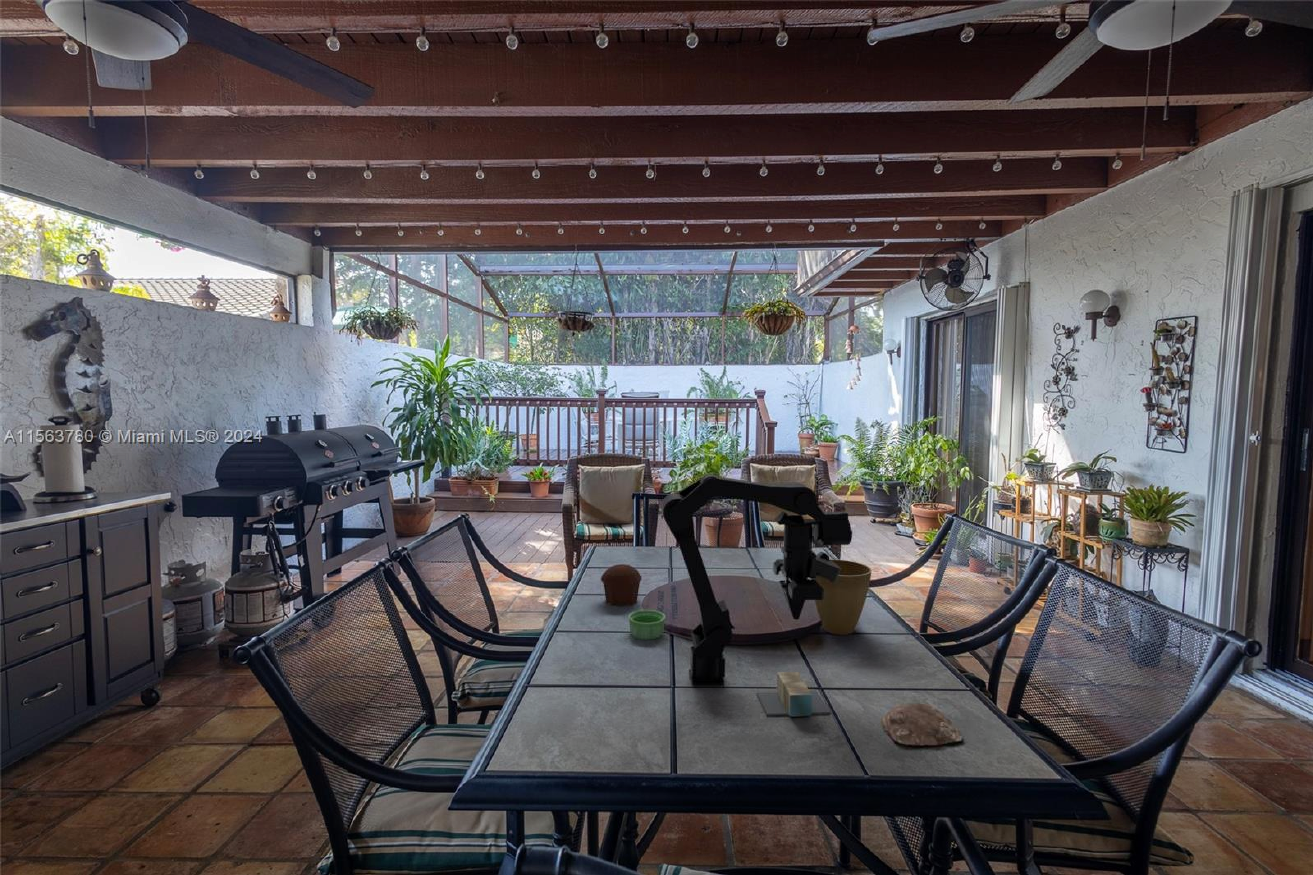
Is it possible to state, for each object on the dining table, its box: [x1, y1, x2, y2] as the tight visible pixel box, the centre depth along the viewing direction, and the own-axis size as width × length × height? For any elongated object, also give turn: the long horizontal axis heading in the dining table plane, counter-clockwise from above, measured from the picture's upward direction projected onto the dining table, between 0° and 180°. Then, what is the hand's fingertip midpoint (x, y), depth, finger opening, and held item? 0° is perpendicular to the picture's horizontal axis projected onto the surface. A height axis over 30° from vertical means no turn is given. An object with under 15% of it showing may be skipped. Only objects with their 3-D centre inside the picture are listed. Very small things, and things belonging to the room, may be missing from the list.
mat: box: [756, 690, 831, 717], centre depth 117 cm, size 12×8×1 cm, turn 94°
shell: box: [881, 702, 964, 749], centre depth 109 cm, size 12×13×4 cm
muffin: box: [600, 563, 642, 607], centre depth 172 cm, size 12×11×10 cm
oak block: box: [776, 671, 812, 717], centre depth 116 cm, size 4×4×9 cm
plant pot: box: [810, 558, 873, 636], centre depth 153 cm, size 15×15×16 cm
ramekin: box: [628, 609, 666, 641], centre depth 150 cm, size 9×9×4 cm
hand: (795, 618), depth 127 cm, fingers closed
